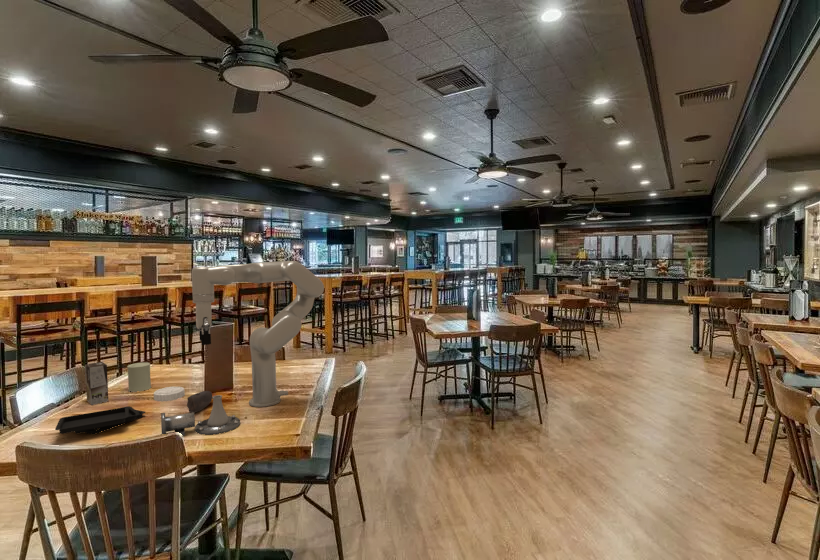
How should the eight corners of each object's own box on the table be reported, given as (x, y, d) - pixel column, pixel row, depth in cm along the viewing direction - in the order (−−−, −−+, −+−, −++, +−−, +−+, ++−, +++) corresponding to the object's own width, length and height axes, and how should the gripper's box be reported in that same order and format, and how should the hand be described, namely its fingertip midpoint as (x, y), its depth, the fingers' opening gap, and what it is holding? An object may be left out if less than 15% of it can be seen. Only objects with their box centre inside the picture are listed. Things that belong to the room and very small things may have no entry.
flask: (233, 420, 160) (232, 393, 159) (220, 428, 153) (219, 400, 152) (215, 419, 161) (214, 392, 160) (202, 426, 154) (201, 399, 153)
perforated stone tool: (206, 402, 183) (205, 386, 183) (217, 402, 183) (217, 386, 182) (182, 415, 169) (182, 397, 168) (195, 415, 168) (194, 398, 167)
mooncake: (157, 394, 195) (157, 387, 195) (186, 392, 199) (186, 384, 198) (150, 403, 183) (150, 395, 183) (182, 400, 187) (181, 392, 187)
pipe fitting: (237, 415, 167) (236, 395, 166) (243, 429, 154) (242, 406, 153) (162, 429, 154) (161, 407, 154) (162, 445, 141) (160, 420, 141)
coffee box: (109, 401, 186) (107, 364, 185) (91, 405, 181) (89, 367, 180) (104, 397, 192) (102, 361, 191) (86, 400, 187) (84, 364, 186)
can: (123, 390, 201) (122, 365, 200) (142, 385, 209) (141, 360, 209) (137, 392, 197) (136, 367, 197) (155, 387, 206) (154, 362, 205)
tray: (113, 411, 174) (113, 398, 174) (162, 415, 169) (162, 402, 169) (34, 442, 145) (33, 427, 145) (91, 448, 140) (90, 433, 140)
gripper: (191, 297, 173) (193, 339, 174) (194, 301, 158) (195, 347, 159) (212, 296, 176) (213, 337, 177) (216, 299, 161) (218, 345, 162)
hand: (205, 342), depth 168 cm, fingers open, 9 cm apart
